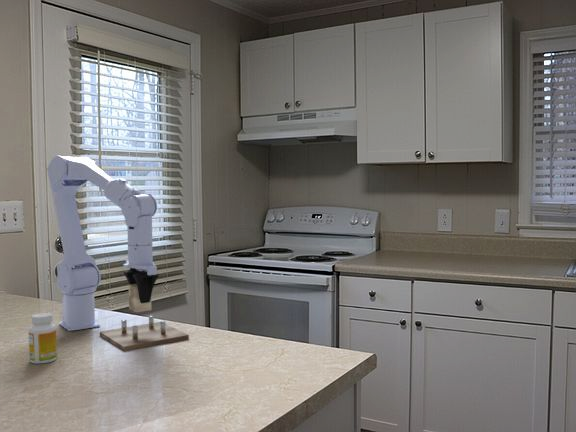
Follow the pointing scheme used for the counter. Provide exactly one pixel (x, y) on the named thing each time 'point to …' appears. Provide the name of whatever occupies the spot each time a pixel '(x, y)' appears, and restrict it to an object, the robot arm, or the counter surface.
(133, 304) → the block
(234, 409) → the counter surface
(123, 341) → the peg board
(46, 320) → the supplement bottle
